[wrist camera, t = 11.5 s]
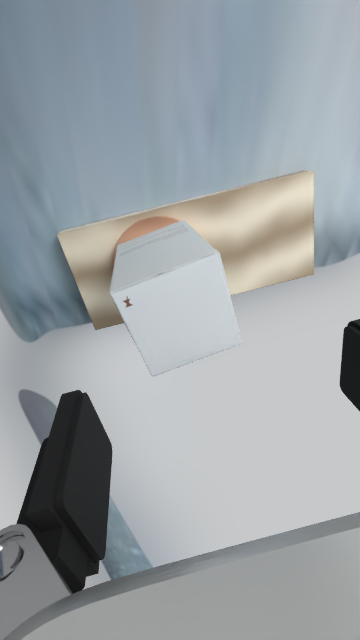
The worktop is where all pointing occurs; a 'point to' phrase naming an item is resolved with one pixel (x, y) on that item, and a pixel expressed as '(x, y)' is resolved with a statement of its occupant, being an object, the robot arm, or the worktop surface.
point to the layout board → (207, 238)
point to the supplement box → (174, 297)
